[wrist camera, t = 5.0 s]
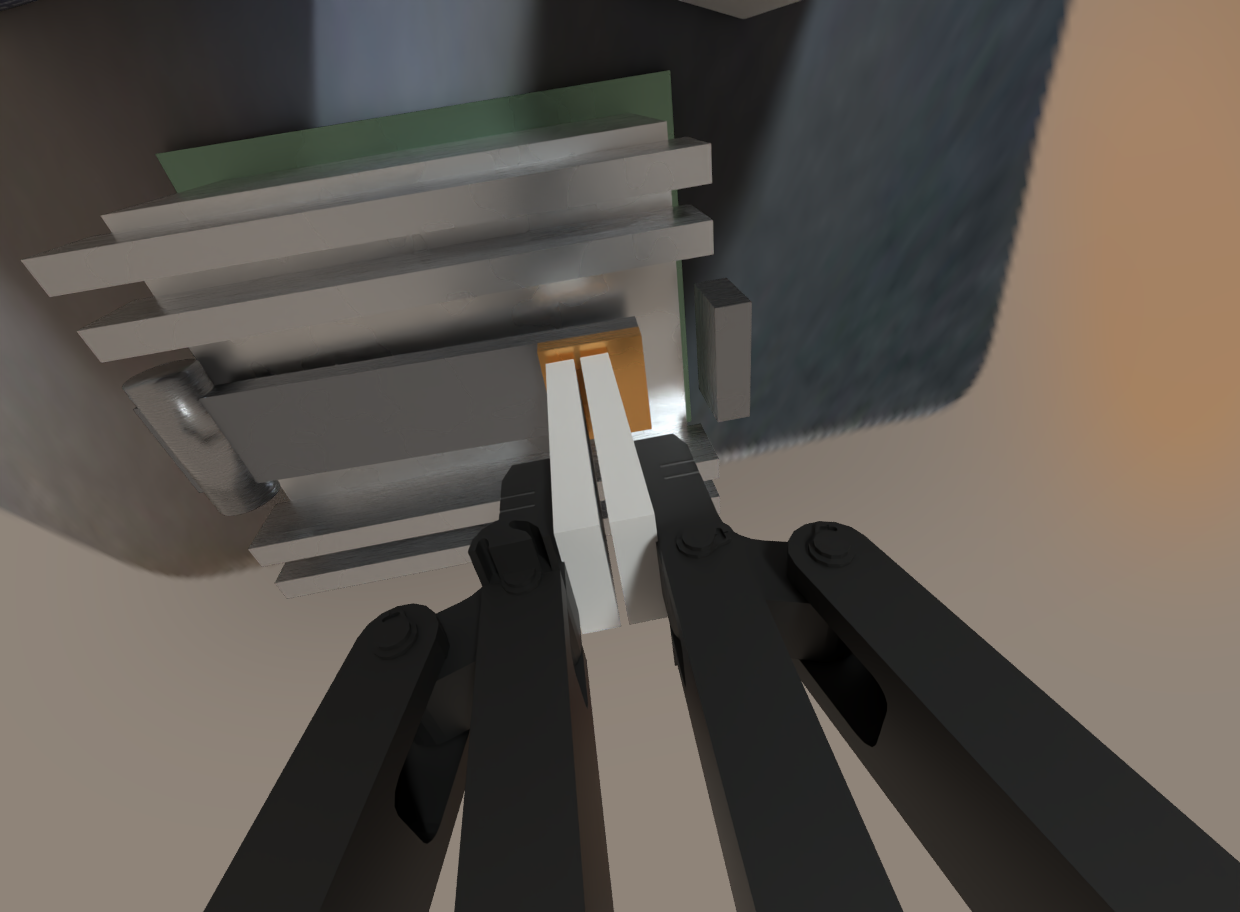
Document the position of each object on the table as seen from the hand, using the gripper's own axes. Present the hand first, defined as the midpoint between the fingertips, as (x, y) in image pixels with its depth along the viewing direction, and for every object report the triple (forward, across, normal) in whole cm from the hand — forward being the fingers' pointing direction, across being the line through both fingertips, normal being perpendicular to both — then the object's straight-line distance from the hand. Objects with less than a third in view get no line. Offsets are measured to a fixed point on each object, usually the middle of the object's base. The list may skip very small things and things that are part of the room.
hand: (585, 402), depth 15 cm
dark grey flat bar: (+2, -5, 0) cm, 6 cm away
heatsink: (+9, -4, 0) cm, 10 cm away
